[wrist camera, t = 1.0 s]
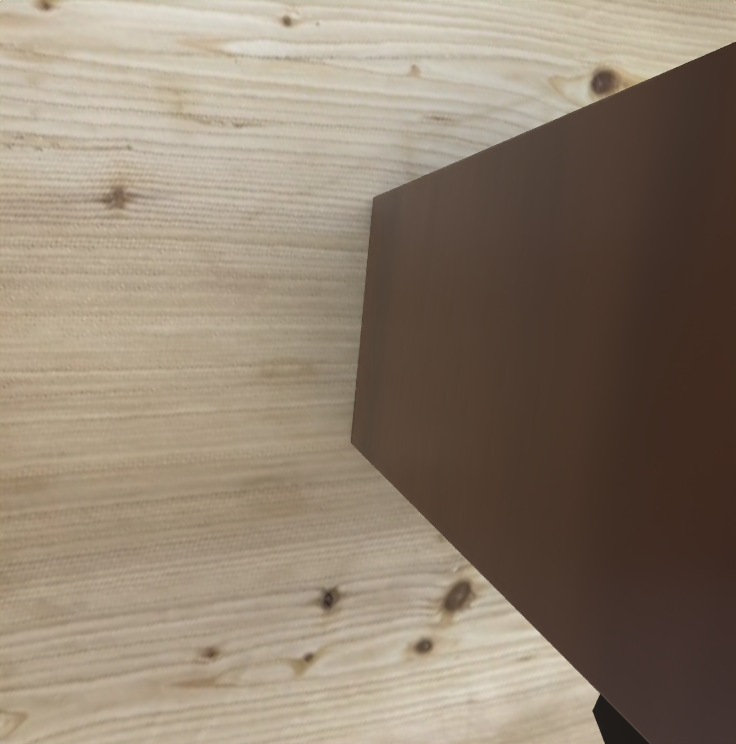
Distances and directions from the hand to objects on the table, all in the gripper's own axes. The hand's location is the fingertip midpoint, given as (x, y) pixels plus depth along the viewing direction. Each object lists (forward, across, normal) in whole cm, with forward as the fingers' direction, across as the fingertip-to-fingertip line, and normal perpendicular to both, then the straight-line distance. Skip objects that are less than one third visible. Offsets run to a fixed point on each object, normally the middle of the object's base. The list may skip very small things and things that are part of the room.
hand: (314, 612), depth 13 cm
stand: (+15, +6, +3) cm, 16 cm away
